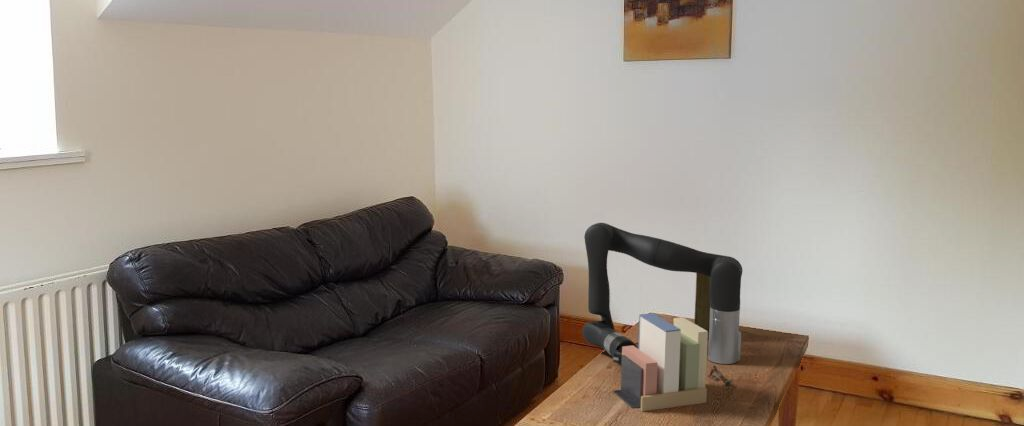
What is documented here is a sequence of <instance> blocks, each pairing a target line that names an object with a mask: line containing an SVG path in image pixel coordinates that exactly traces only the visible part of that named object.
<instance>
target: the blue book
mask: <svg viewBox="0 0 1024 426" xmlns="http://www.w3.org/2000/svg"><path fill="white" fill-rule="evenodd" d="M680 330H681V329H679V328H678V327H676V326H674V325H673V323H671V322H669V321H668V320H666V319H663V318H662V317H661V316H659V315H658V314H656V313H654V312H653V313H652V312H651V313H650V312H649V313H642V314H639V315H638V343H637V344H638V346H637V348H638V349H639V350H640V351H642V352H643V353H645V354H646V355H648V356H649V357H650V358H652V359H653V360H655V361H656V362H657V391H656V394H662V393H669V392H677V391H678V388H679V362H680V337H681V331H680Z"/></svg>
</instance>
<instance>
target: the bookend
mask: <svg viewBox="0 0 1024 426" xmlns="http://www.w3.org/2000/svg"><path fill="white" fill-rule="evenodd" d="M620 365H621V367H620V372H621V373H620V389H615V390H614V389H613V391H612V392H613V394H614V395H616V396H617V397H618V398H619V399H620V400H621V401H623V402H624V403H625V404H626V405H628V407H630V408H631V409H634V408H641V396H642V393H643V368H641V367H640V366H639V365H637V364H636V363H635V362H633V361H632V360H631V359H629V358H628V357H626V356H625V355H622V363H621V364H620Z"/></svg>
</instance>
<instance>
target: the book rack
mask: <svg viewBox="0 0 1024 426" xmlns="http://www.w3.org/2000/svg"><path fill="white" fill-rule="evenodd" d="M672 325H674V326H676V327H678V328H679V329H681V330H680V331H681V337H680V362H679V388H678V391H677V392H669V393H662V394H656V391H657V362H656V361H655V360H653V359H652V358H650V357H649V356H648V355H646V354H645V353H643V352H642V351H640V350H639V349H638V347H637V346H636V347H637V348H636V347H635V346H633V345H632V346H623V347H622V355H625V356H626V357H628V358H629V359H631V360H632V361H633V362H635V363H636V364H637V365H639V366H640V367H641V368H643V393H642V396H641V407H640V411H641V412H648V411H655V410H662V409H668V408H677V407H684V406H691V405H698V404H705V403H706V404H707V395H708V388H706V381H707V380H706V379H707V361H708V339H707V338H708V331H706V330H705V329H703V328H701V327H699V326H697V325H696V324H694V322H692V321H691V320H689V319H687V318H685V317H683V316H682V317H681V316H680V317H674V318H673V323H672Z"/></svg>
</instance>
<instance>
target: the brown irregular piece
mask: <svg viewBox="0 0 1024 426" xmlns="http://www.w3.org/2000/svg"><path fill="white" fill-rule="evenodd" d="M710 368H711V370H710V372H709V373H708V375H707V377H709V378H711V377H712V378H711V379H712V380H713V381H714V382H718V381H719V380H718V378H720V379H721V380H722V383H724V385H723V386H729V385H730V384H731V382H732V380H730V379H727V378H726V377H725V376H724V375H723V374H722V372H721V371H720V370H719V369H718V368H717V367H716V365H715V364H711V365H710ZM714 373H715V375H714Z"/></svg>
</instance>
